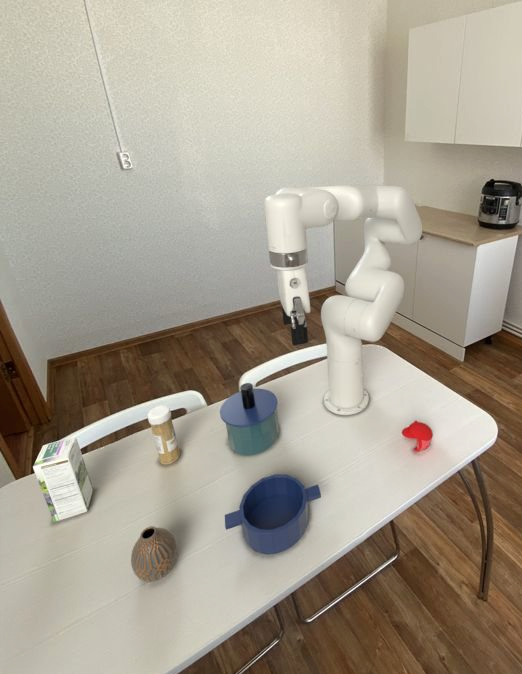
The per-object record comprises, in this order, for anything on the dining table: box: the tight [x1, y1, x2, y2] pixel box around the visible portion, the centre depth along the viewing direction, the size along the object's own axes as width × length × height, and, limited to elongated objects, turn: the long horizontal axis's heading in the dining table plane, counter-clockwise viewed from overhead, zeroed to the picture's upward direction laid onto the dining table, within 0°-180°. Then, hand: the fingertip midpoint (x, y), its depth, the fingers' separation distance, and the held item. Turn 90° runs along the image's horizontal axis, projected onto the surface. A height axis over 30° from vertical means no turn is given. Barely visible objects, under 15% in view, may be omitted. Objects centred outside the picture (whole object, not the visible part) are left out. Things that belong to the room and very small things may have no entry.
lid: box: [219, 382, 279, 427], centre depth 91 cm, size 13×13×7 cm
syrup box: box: [32, 437, 94, 523], centre depth 76 cm, size 6×6×14 cm
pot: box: [225, 408, 280, 456], centre depth 94 cm, size 12×12×9 cm
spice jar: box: [147, 404, 181, 466], centre depth 87 cm, size 5×5×13 cm
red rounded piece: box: [401, 420, 434, 453], centre depth 91 cm, size 8×6×6 cm
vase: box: [130, 525, 178, 583], centre depth 65 cm, size 7×7×9 cm
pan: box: [224, 473, 322, 555], centre depth 73 cm, size 12×18×5 cm
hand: (295, 332), depth 82 cm, fingers open, 9 cm apart
